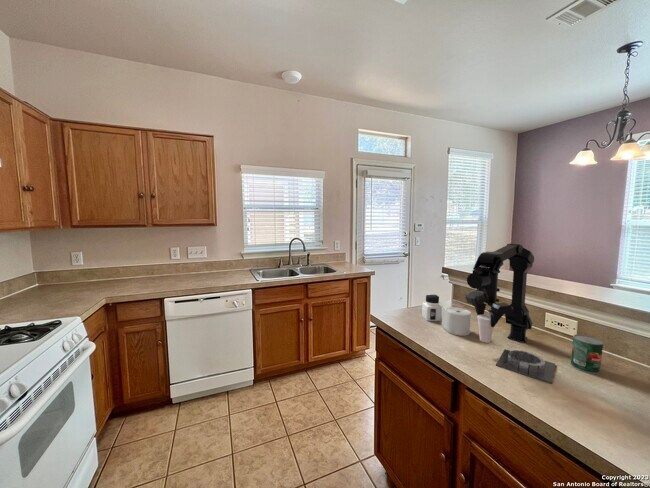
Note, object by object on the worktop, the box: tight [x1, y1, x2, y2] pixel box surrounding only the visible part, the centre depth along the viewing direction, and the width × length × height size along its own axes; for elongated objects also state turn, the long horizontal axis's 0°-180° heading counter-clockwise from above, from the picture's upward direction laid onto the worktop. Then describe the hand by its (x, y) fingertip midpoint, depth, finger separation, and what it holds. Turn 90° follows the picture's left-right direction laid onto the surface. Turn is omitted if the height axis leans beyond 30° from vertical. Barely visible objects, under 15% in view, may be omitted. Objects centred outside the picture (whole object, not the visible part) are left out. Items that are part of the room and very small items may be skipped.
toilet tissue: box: [441, 306, 472, 337], centre depth 130 cm, size 11×12×10 cm
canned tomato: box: [569, 334, 604, 375], centre depth 98 cm, size 8×8×11 cm
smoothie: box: [476, 305, 495, 344], centre depth 107 cm, size 6×6×14 cm
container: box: [421, 293, 443, 322], centre depth 146 cm, size 8×8×13 cm
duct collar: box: [495, 348, 556, 385], centre depth 100 cm, size 16×16×3 cm
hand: (486, 323), depth 107 cm, fingers closed on smoothie, 6 cm apart
